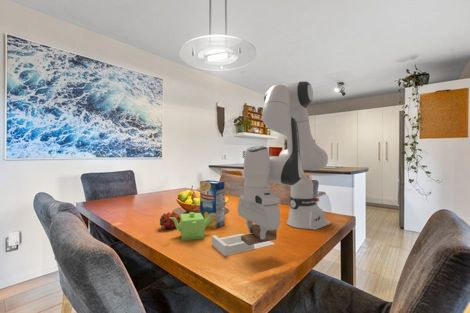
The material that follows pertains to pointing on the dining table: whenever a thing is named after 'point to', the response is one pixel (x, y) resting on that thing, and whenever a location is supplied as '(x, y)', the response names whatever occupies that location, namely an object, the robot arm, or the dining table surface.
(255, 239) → the block
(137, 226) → the dining table surface
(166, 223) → the dark red lumpy cluster
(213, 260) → the dining table surface
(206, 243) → the dining table surface
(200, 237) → the kettle
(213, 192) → the beverage box
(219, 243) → the shallow white tray
